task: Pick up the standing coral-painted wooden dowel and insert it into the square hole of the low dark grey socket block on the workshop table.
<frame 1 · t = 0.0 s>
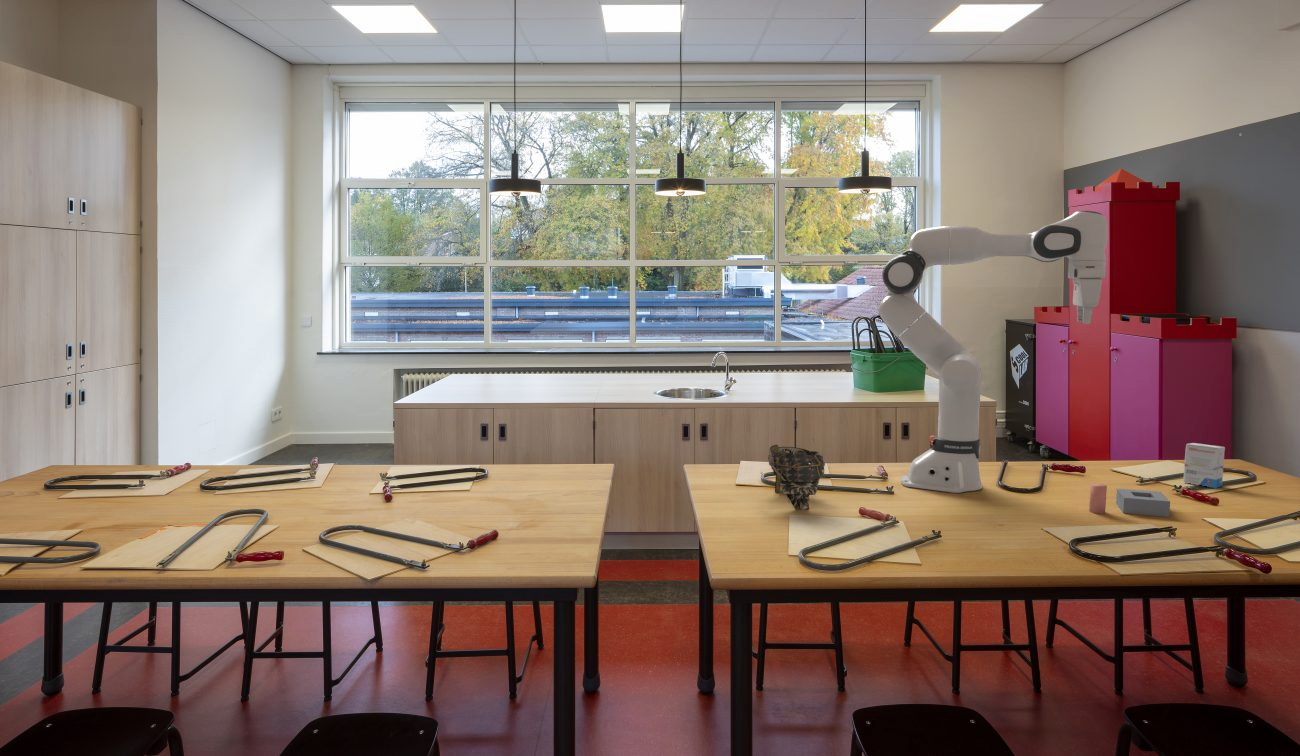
hand: (1083, 323, 209), 48 cm above the table, fingers open, 8 cm apart
peg: (1097, 511, 198), on the table
ink box: (1202, 485, 224), on the table
checked fabric bag: (796, 500, 212), on the table
socket: (1141, 509, 199), on the table
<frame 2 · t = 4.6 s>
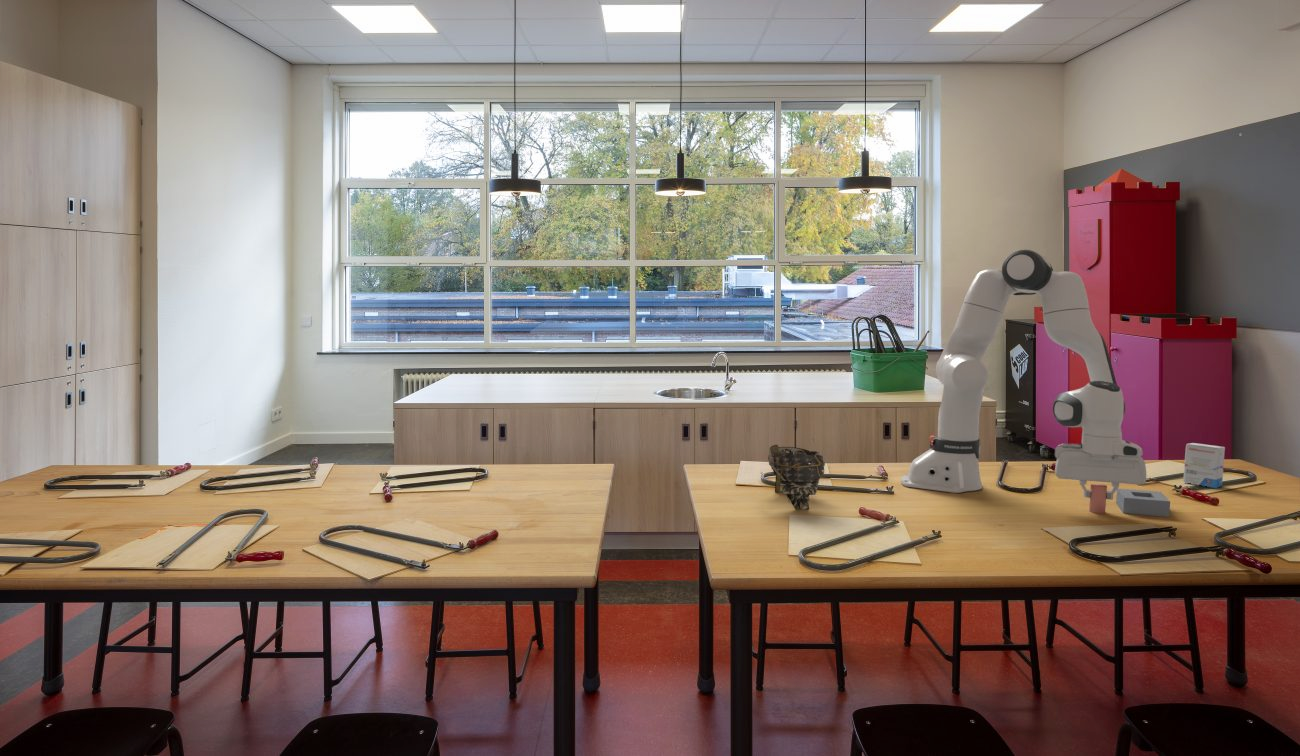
hand: (1097, 498, 198), 4 cm above the table, fingers closed on peg, 4 cm apart
peg: (1097, 511, 198), on the table, touching gripper
everything else where it was.
when the fingers open (5 cm above the table, at t = 9.6 s): peg drops 2 cm, resting in socket.
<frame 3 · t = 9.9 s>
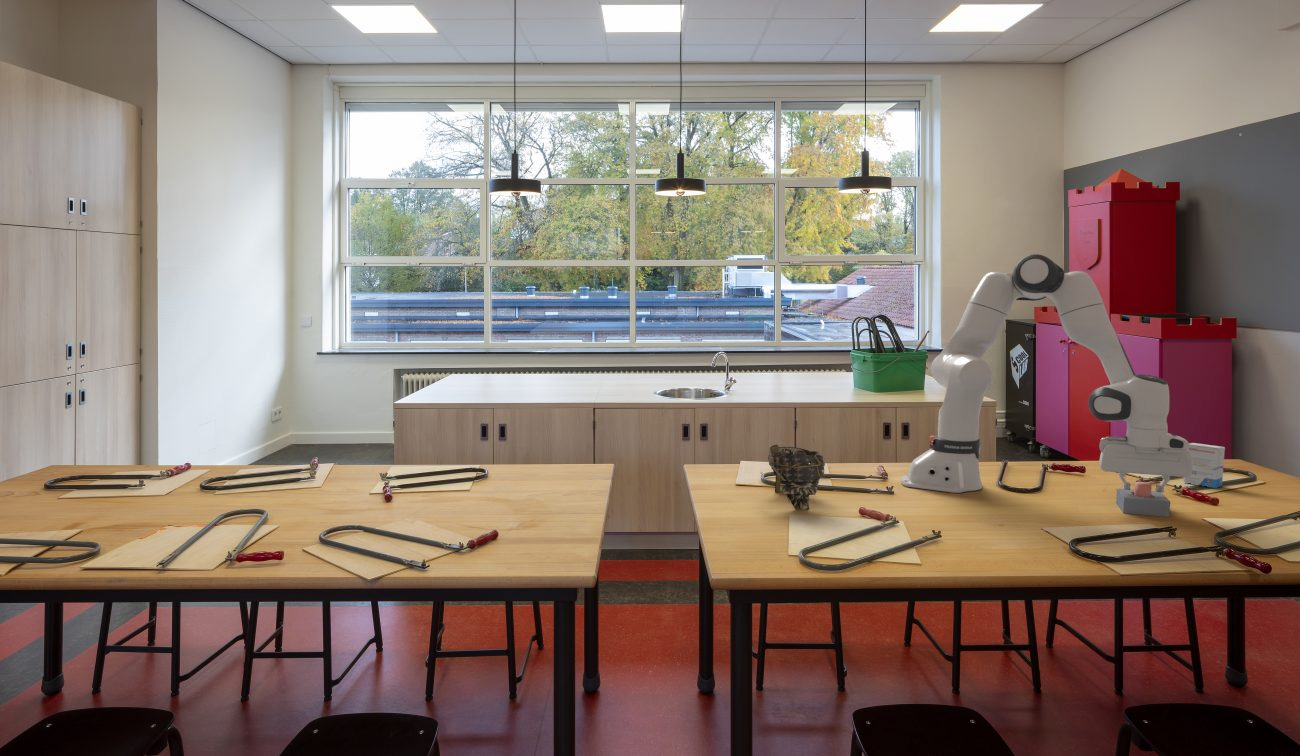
hand: (1142, 490, 199), 5 cm above the table, fingers open, 6 cm apart
peg: (1141, 509, 200), resting in socket
everything else where it was.
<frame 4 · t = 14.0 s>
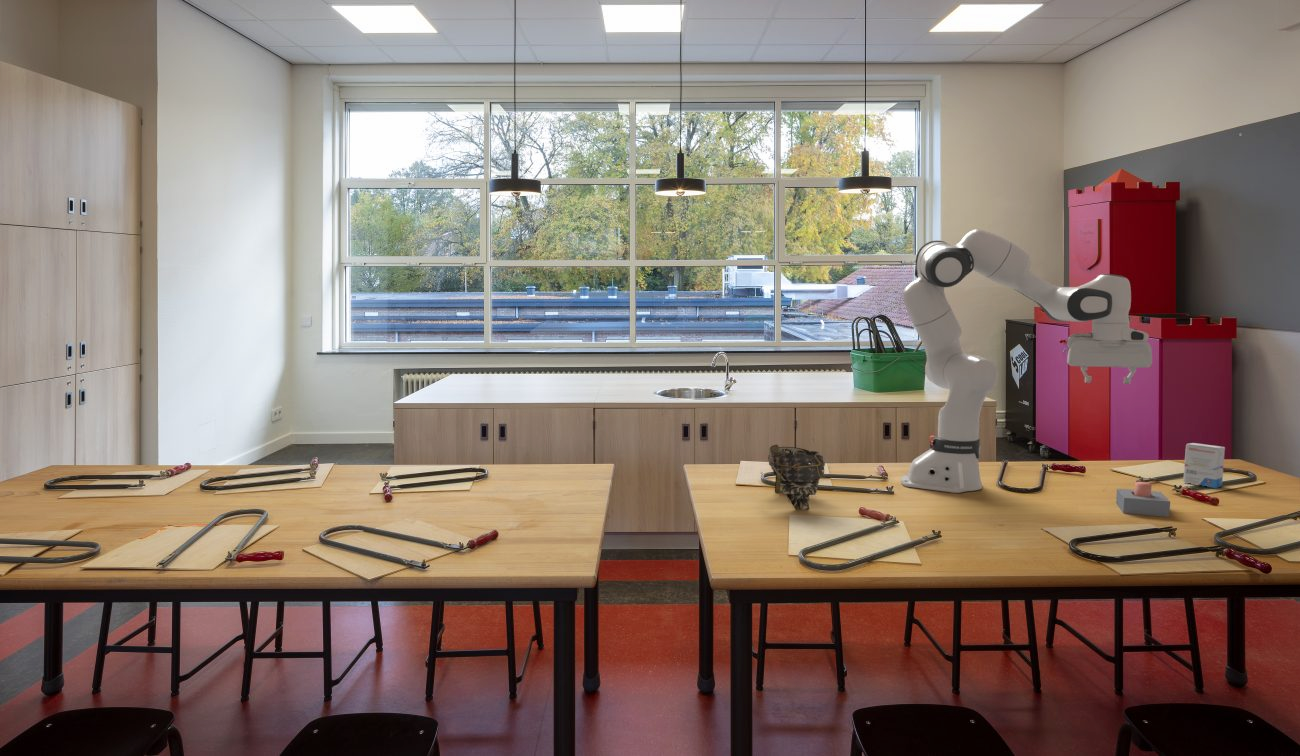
hand: (1107, 383, 213), 31 cm above the table, fingers open, 8 cm apart
nothing on the table moved.
at the end: peg 0.1 cm off-centre on the socket, point 0.0 cm above the socket's base; peg tilted 0°; the gripper is holding nothing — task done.
